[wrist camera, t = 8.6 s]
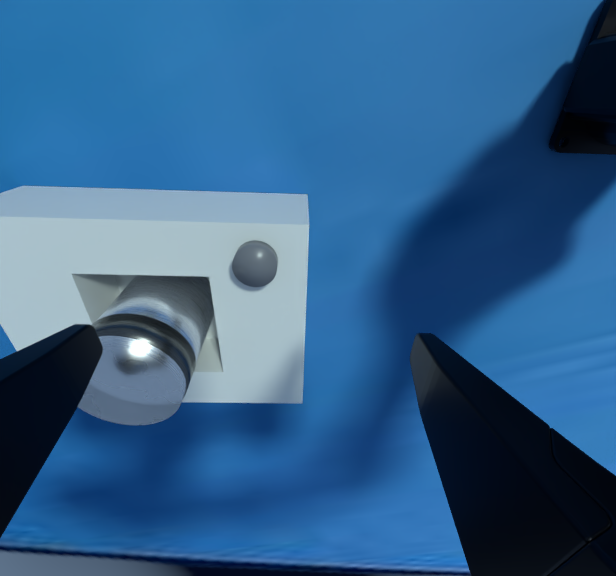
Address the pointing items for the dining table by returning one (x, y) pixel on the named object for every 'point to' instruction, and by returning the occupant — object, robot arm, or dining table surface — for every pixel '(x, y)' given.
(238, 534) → the dining table surface
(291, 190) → the dining table surface
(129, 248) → the camera body
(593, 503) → the robot arm
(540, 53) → the dining table surface
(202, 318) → the steel lens
